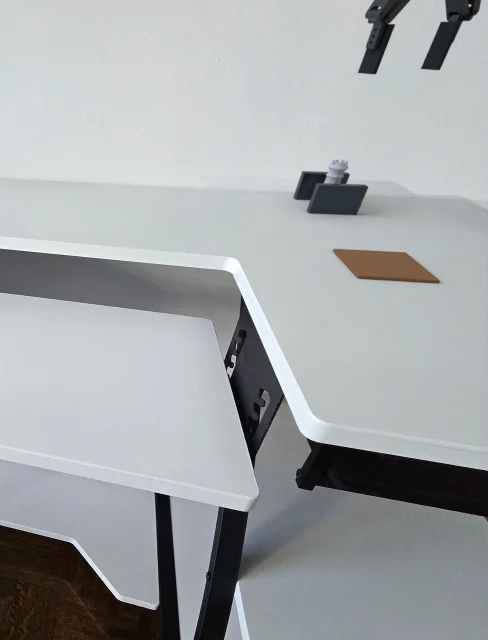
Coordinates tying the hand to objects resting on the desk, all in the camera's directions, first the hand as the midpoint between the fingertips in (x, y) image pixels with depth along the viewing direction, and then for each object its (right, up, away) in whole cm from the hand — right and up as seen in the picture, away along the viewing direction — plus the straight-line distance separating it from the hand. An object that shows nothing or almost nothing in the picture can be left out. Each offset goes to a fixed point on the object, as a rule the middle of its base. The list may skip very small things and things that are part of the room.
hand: (398, 71), depth 81 cm
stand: (-3, -17, +13) cm, 22 cm away
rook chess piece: (-3, -18, +13) cm, 22 cm away
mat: (-10, -34, -9) cm, 37 cm away
